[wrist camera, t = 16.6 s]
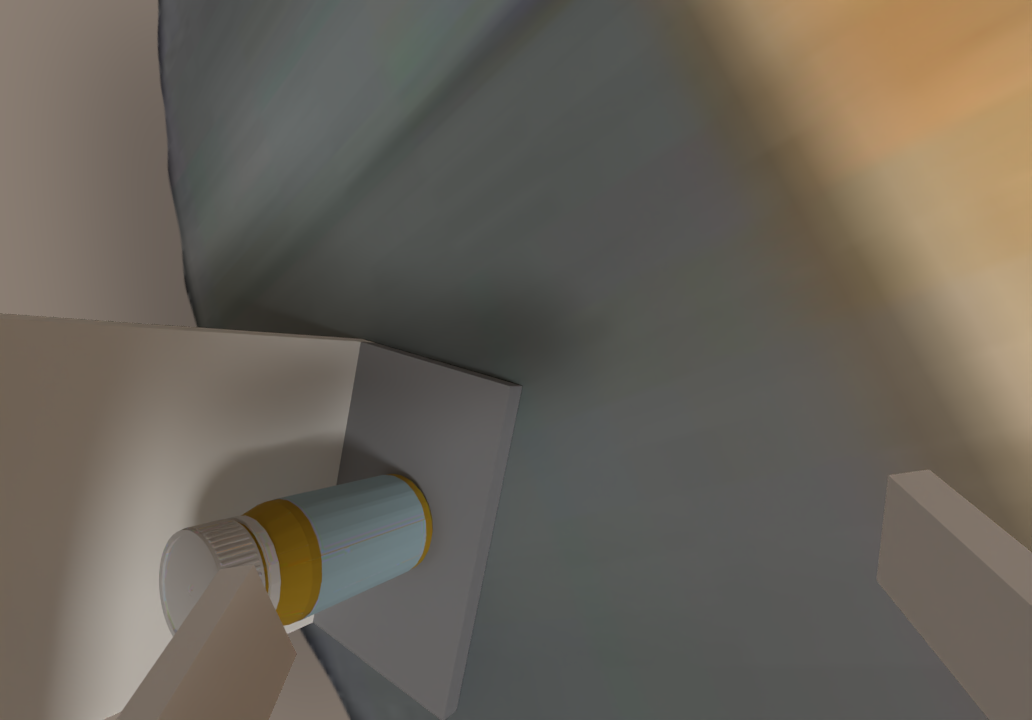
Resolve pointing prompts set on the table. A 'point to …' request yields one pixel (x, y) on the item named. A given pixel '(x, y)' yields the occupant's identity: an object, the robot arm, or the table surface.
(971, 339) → the table surface
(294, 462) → the shelf unit
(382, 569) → the bottle
